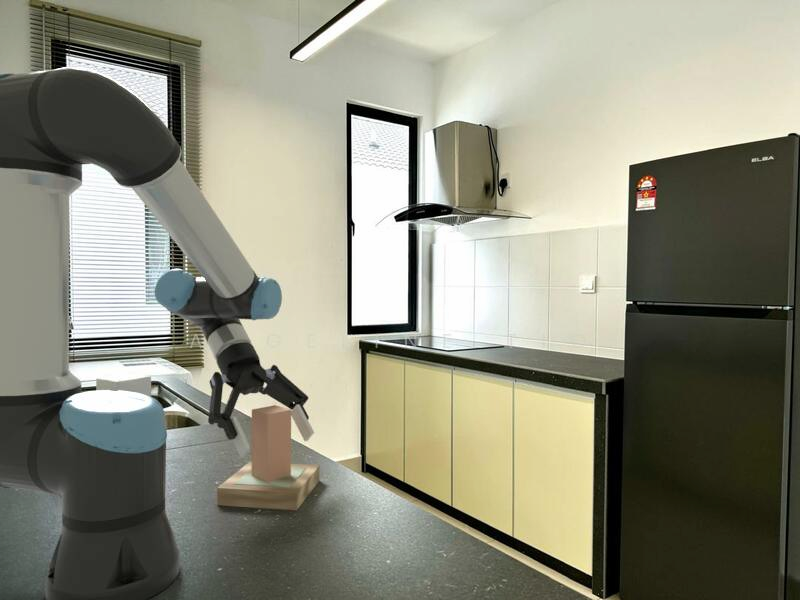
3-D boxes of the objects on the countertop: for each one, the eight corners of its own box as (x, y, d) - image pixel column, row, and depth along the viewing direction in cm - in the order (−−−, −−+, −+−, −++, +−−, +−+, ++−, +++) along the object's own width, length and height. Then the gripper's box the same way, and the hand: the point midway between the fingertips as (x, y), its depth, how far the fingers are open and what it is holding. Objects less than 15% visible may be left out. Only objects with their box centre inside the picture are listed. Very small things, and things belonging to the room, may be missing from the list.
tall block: (267, 482, 96) (267, 414, 95) (251, 475, 99) (251, 409, 99) (290, 475, 99) (291, 409, 99) (274, 468, 103) (275, 405, 102)
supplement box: (152, 437, 133) (152, 376, 133) (117, 446, 126) (116, 381, 125) (130, 431, 138) (130, 372, 138) (95, 439, 131) (95, 377, 130)
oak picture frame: (296, 510, 91) (296, 492, 91) (217, 505, 93) (217, 487, 93) (319, 480, 105) (319, 464, 105) (249, 476, 107) (249, 460, 107)
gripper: (279, 358, 118) (323, 441, 109) (165, 371, 100) (206, 473, 90) (294, 336, 114) (341, 420, 105) (178, 345, 96) (223, 447, 86)
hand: (279, 444), depth 97 cm, fingers open, 13 cm apart
